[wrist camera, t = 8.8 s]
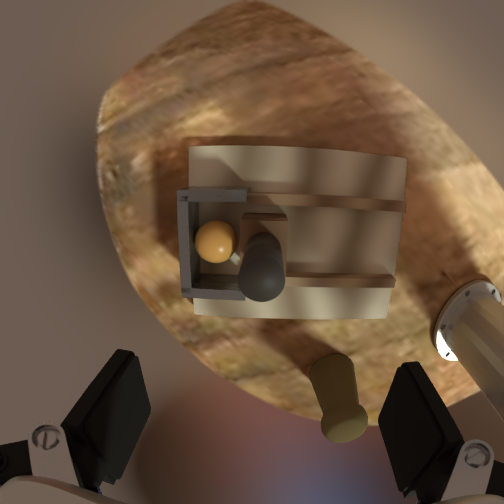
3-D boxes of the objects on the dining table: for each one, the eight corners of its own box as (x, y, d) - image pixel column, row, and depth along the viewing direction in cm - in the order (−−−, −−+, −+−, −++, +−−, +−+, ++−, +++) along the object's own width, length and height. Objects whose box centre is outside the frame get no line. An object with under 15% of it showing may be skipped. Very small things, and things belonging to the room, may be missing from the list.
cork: (303, 362, 35) (312, 427, 25) (349, 347, 34) (371, 408, 24) (315, 393, 37) (325, 455, 26) (357, 379, 36) (377, 438, 25)
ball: (186, 220, 27) (220, 215, 30) (187, 260, 28) (220, 253, 31) (210, 226, 24) (246, 220, 27) (211, 272, 25) (246, 262, 28)
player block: (285, 213, 28) (295, 243, 18) (283, 263, 30) (290, 316, 19) (244, 212, 28) (229, 241, 18) (243, 261, 30) (230, 314, 19)
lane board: (400, 158, 27) (413, 158, 25) (381, 312, 33) (390, 324, 30) (192, 147, 29) (184, 145, 26) (197, 308, 34) (191, 320, 31)
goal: (249, 186, 28) (246, 190, 24) (248, 284, 31) (245, 300, 27) (188, 186, 28) (176, 190, 24) (192, 281, 31) (182, 297, 27)
